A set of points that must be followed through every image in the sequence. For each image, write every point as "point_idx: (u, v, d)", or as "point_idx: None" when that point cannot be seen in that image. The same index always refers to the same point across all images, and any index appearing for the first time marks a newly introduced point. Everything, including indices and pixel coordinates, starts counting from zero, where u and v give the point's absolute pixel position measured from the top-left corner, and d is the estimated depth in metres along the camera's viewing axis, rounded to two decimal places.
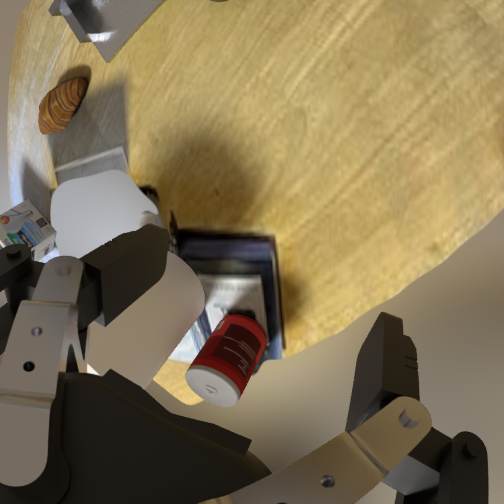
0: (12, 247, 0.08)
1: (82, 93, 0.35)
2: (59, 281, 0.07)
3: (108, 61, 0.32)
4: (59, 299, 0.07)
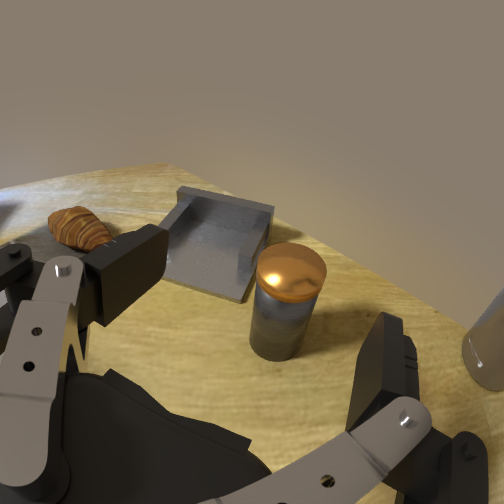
0: (12, 247, 0.08)
1: None
2: (59, 281, 0.07)
3: None
4: (59, 299, 0.07)
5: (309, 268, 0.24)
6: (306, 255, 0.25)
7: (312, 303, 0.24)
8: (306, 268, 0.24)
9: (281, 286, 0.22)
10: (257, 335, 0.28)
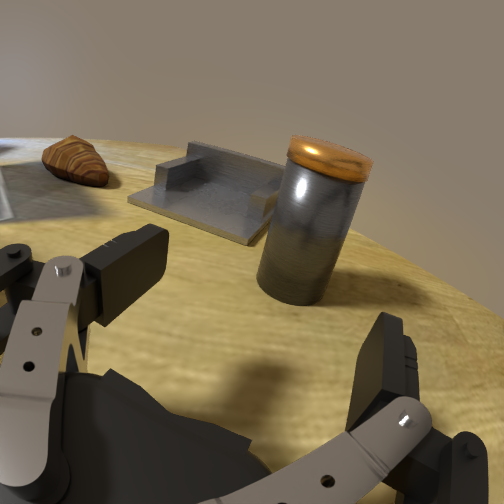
0: (12, 247, 0.08)
1: (87, 179, 0.30)
2: (59, 280, 0.07)
3: (129, 198, 0.29)
4: (59, 299, 0.07)
5: (352, 154, 0.18)
6: (346, 149, 0.20)
7: (356, 196, 0.18)
8: (349, 153, 0.18)
9: (323, 149, 0.17)
10: (273, 253, 0.21)
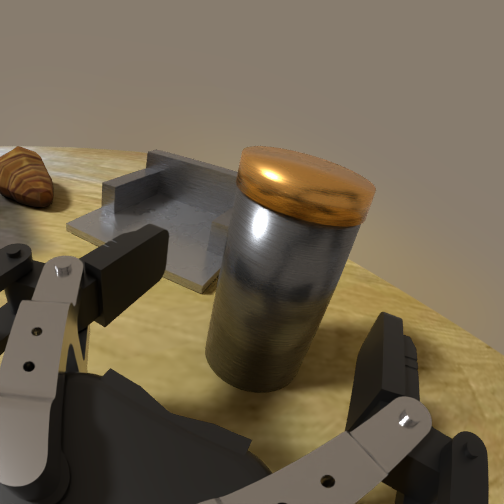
0: (12, 247, 0.08)
1: (29, 199, 0.24)
2: (59, 281, 0.07)
3: (68, 226, 0.22)
4: (59, 299, 0.07)
5: (342, 176, 0.12)
6: (334, 167, 0.13)
7: (345, 248, 0.11)
8: (337, 175, 0.12)
9: (289, 174, 0.10)
10: (220, 326, 0.14)
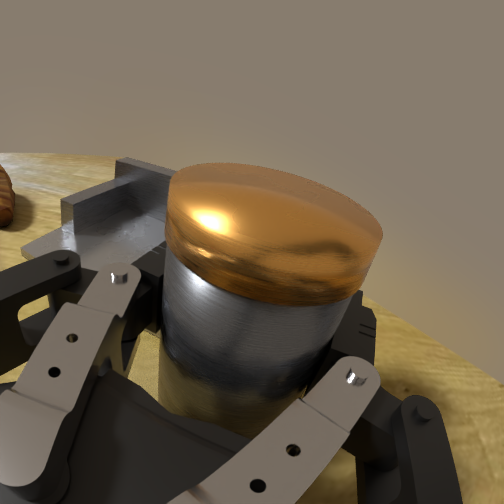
0: (60, 253, 0.08)
1: None
2: (112, 288, 0.08)
3: (22, 250, 0.18)
4: (123, 309, 0.07)
5: (331, 211, 0.08)
6: (319, 193, 0.09)
7: (331, 326, 0.07)
8: (322, 210, 0.08)
9: (231, 222, 0.06)
10: (164, 405, 0.10)
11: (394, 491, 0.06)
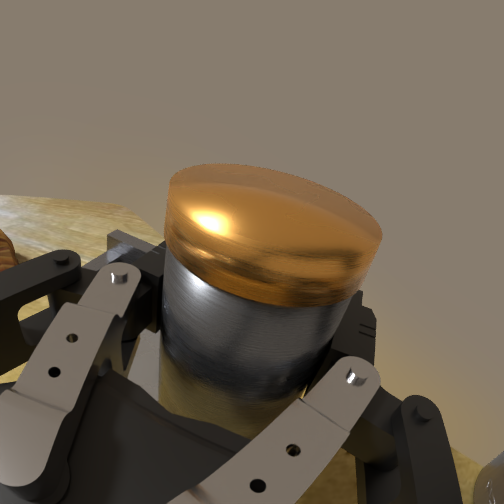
0: (60, 253, 0.08)
1: None
2: (112, 288, 0.08)
3: None
4: (123, 309, 0.07)
5: (330, 212, 0.08)
6: (319, 193, 0.09)
7: (330, 327, 0.07)
8: (321, 211, 0.08)
9: (230, 223, 0.06)
10: (164, 405, 0.10)
11: (394, 491, 0.06)
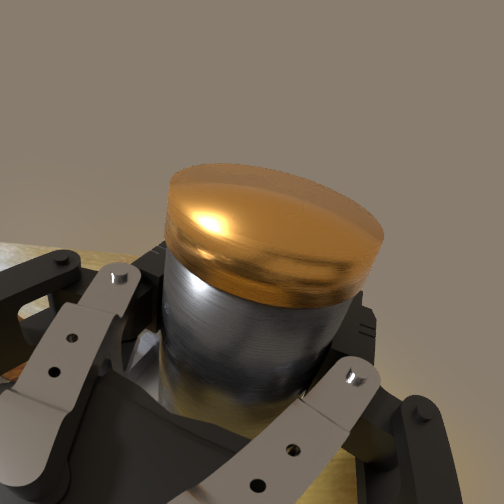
0: (60, 253, 0.08)
1: None
2: (112, 288, 0.08)
3: None
4: (123, 309, 0.07)
5: (332, 212, 0.08)
6: (320, 193, 0.09)
7: (331, 328, 0.07)
8: (323, 211, 0.07)
9: (231, 224, 0.06)
10: (164, 407, 0.10)
11: (394, 491, 0.06)
